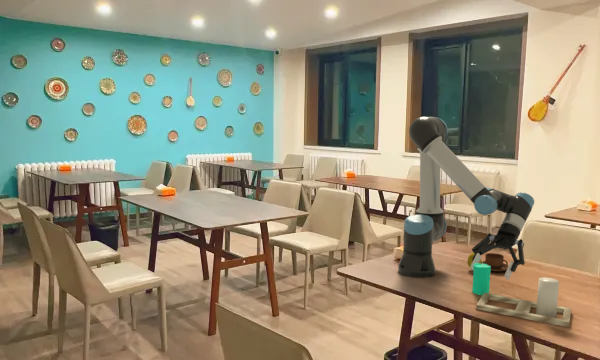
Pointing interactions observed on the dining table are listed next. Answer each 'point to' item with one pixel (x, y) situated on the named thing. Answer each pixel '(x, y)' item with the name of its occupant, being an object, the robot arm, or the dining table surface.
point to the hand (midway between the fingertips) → (488, 273)
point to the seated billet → (547, 297)
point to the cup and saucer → (495, 262)
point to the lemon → (471, 259)
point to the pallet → (522, 309)
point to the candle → (481, 278)
